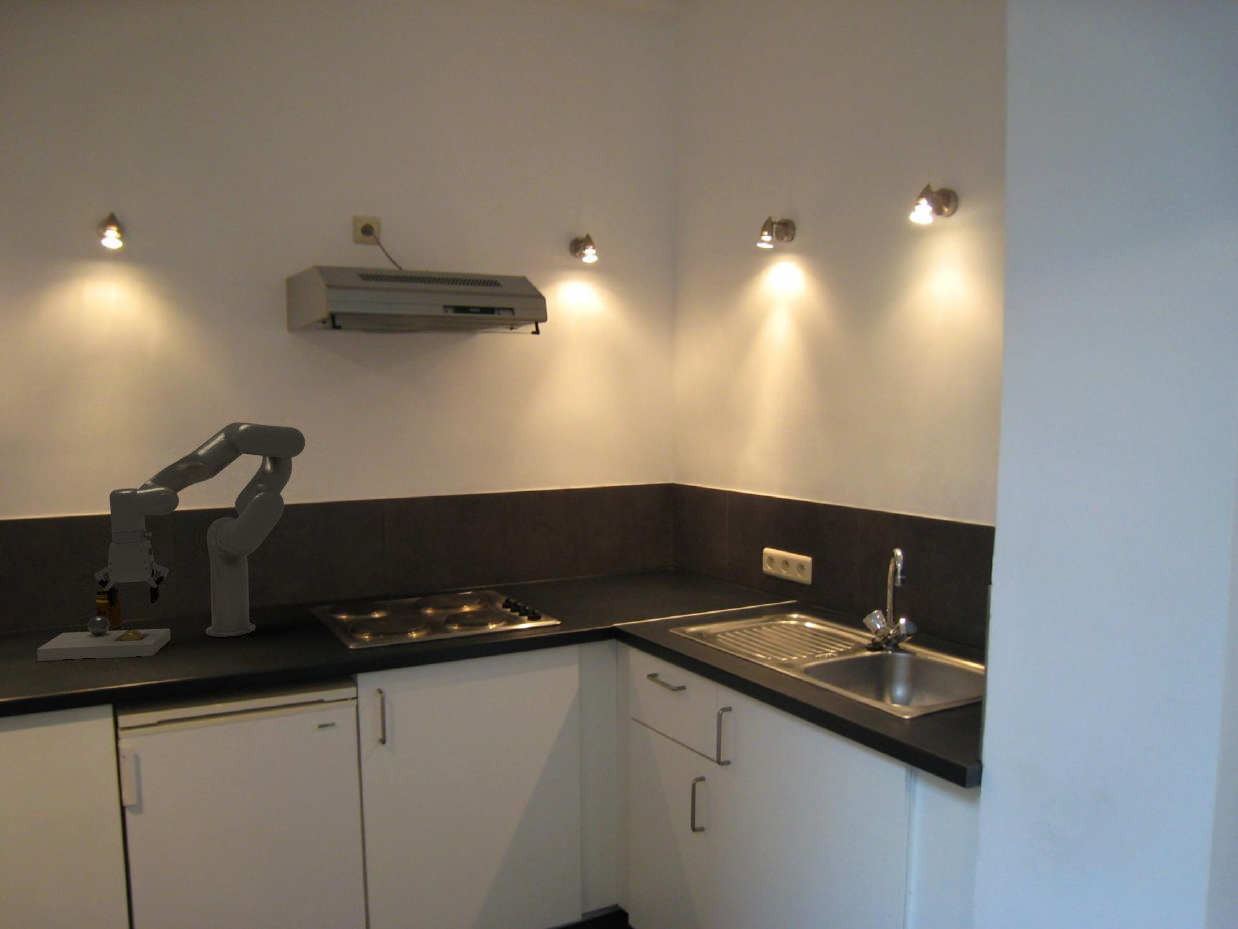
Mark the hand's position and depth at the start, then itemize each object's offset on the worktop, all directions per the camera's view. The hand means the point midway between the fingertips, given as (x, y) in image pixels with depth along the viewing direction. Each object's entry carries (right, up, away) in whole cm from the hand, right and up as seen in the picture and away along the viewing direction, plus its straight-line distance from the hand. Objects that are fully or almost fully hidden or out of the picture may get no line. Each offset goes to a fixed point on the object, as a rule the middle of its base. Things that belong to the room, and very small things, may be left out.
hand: (133, 603), depth 240 cm
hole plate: (-6, -12, -1) cm, 13 cm away
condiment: (-15, -11, +18) cm, 26 cm away
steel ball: (-10, -6, +2) cm, 12 cm away
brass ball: (-1, -9, 0) cm, 9 cm away
